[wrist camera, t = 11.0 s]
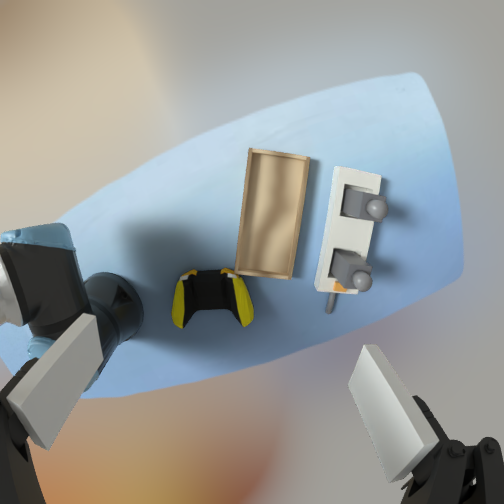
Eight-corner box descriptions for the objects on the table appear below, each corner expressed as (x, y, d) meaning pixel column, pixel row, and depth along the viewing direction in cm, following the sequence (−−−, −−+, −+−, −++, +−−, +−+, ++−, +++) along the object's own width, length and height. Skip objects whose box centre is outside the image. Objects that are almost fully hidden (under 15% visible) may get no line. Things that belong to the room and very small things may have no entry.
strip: (308, 311, 52) (312, 320, 49) (334, 166, 45) (341, 165, 41) (345, 313, 53) (351, 322, 49) (374, 175, 45) (383, 175, 42)
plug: (342, 188, 46) (370, 193, 34) (362, 192, 46) (394, 198, 35) (339, 210, 47) (365, 221, 36) (359, 213, 47) (389, 225, 36)
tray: (234, 269, 50) (234, 273, 48) (248, 149, 44) (249, 148, 42) (289, 275, 50) (291, 279, 48) (307, 157, 44) (310, 157, 42)
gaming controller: (253, 313, 52) (251, 264, 50) (254, 328, 47) (251, 275, 44) (178, 316, 52) (169, 269, 50) (171, 331, 47) (161, 280, 44)
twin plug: (328, 269, 50) (349, 295, 38) (332, 248, 48) (355, 269, 37) (347, 271, 50) (372, 296, 39) (352, 250, 49) (379, 272, 38)
